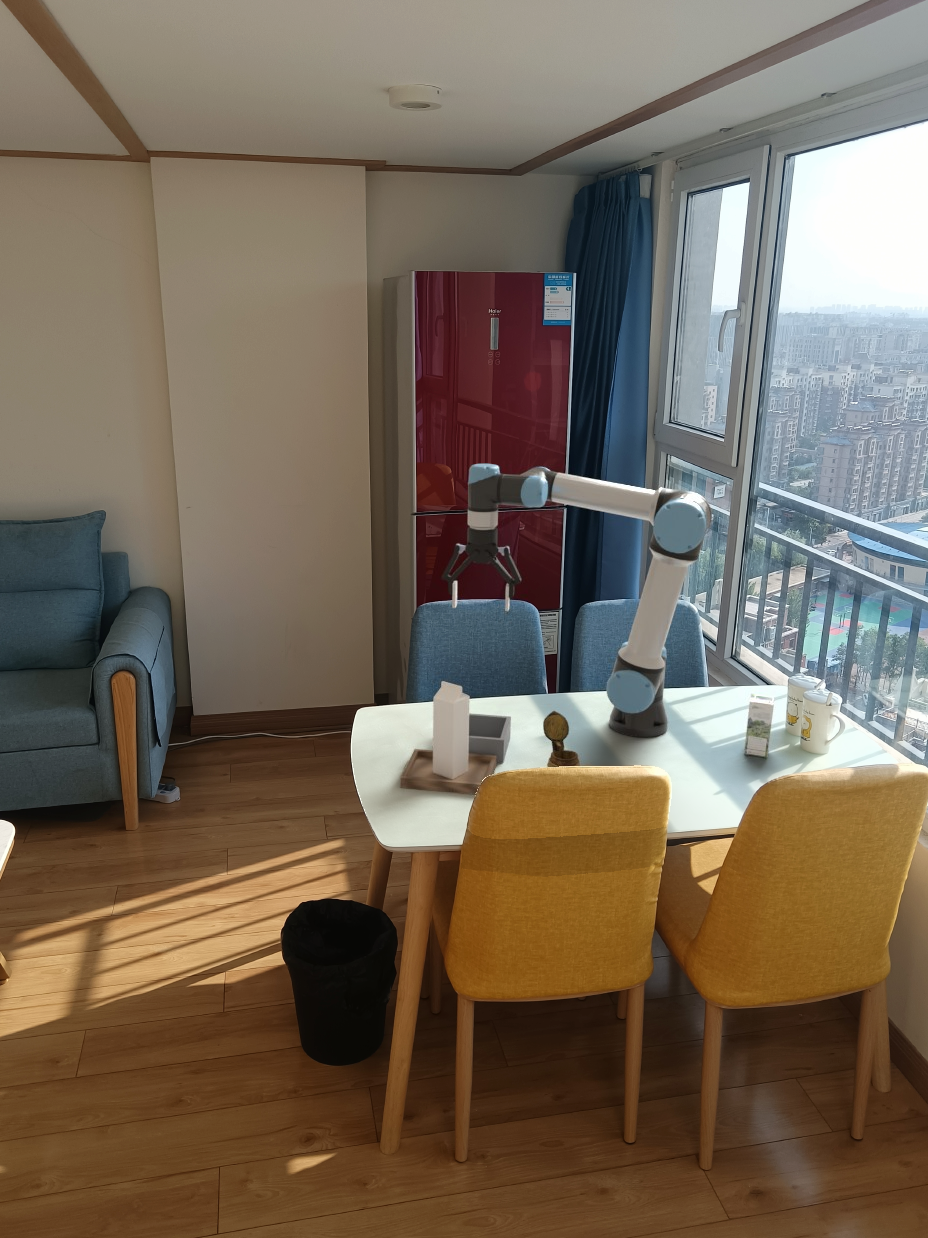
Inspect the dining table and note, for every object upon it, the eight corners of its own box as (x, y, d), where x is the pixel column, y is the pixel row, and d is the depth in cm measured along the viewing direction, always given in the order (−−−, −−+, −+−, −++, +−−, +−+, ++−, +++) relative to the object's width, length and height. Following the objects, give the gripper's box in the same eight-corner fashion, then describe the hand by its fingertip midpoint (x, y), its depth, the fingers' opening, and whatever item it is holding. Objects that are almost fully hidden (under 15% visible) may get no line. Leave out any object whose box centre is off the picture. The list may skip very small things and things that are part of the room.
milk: (448, 764, 232) (449, 677, 226) (468, 771, 229) (470, 682, 223) (432, 773, 228) (433, 684, 222) (452, 780, 224) (454, 690, 218)
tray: (496, 765, 235) (496, 755, 234) (487, 795, 219) (487, 785, 219) (414, 758, 238) (414, 749, 237) (400, 787, 222) (400, 777, 222)
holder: (510, 738, 250) (510, 716, 248) (503, 763, 236) (503, 740, 234) (452, 733, 252) (452, 712, 250) (442, 758, 238) (442, 735, 236)
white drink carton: (768, 749, 246) (774, 695, 242) (767, 758, 241) (773, 704, 237) (745, 746, 248) (750, 692, 244) (743, 755, 243) (749, 700, 238)
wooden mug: (568, 780, 227) (572, 708, 222) (588, 808, 215) (593, 732, 209) (531, 784, 225) (534, 711, 220) (549, 811, 213) (553, 735, 208)
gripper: (533, 526, 246) (530, 607, 252) (436, 521, 250) (435, 601, 256) (530, 531, 239) (527, 615, 245) (430, 527, 242) (430, 609, 249)
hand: (480, 608), depth 250 cm, fingers open, 13 cm apart
